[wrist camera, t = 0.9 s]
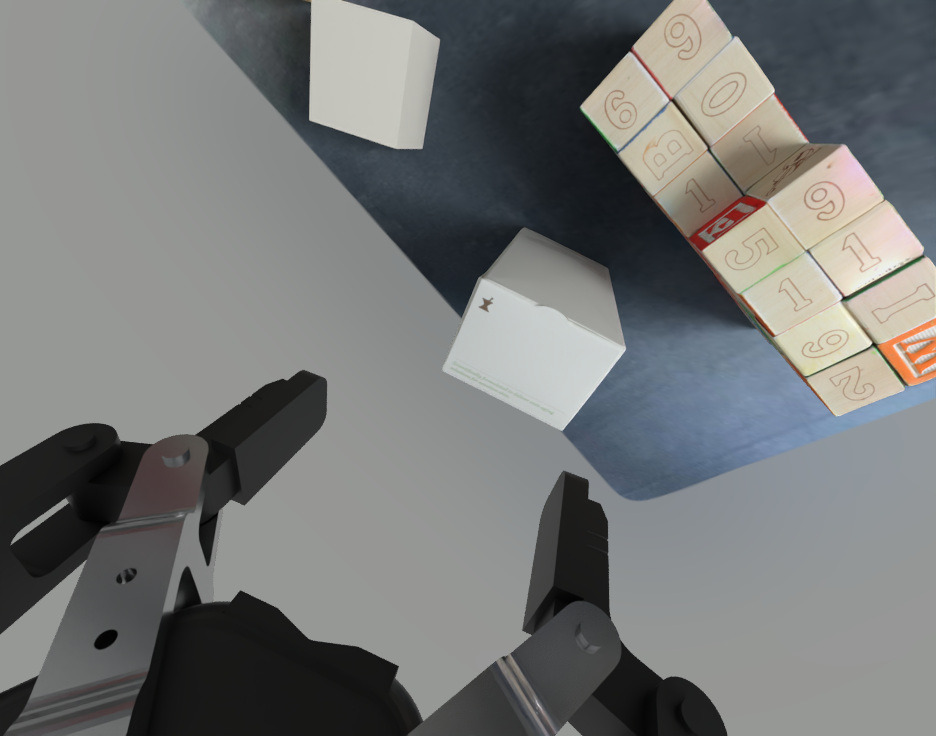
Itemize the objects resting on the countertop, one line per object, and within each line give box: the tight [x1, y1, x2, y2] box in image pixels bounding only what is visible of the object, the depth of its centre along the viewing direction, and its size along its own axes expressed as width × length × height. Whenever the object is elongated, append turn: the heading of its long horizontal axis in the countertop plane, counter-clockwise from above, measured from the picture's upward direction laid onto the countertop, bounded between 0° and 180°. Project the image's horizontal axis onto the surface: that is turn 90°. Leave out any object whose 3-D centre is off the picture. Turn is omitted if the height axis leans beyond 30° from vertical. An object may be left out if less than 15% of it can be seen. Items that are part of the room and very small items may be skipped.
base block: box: [309, 0, 440, 149], centre depth 28 cm, size 7×7×5 cm
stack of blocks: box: [580, 0, 936, 416], centre depth 22 cm, size 21×6×12 cm, turn 47°
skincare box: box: [442, 227, 626, 431], centre depth 27 cm, size 8×7×16 cm
